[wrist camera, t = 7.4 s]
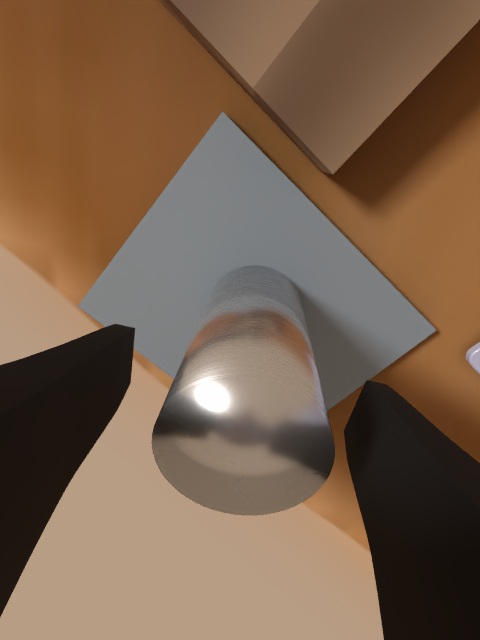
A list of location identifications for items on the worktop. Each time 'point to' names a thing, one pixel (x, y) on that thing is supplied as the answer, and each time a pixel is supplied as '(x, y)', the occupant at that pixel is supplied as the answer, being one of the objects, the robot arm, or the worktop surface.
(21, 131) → the worktop surface
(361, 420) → the robot arm
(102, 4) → the worktop surface
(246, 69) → the bore block
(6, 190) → the worktop surface
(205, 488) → the plug
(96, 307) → the mat
